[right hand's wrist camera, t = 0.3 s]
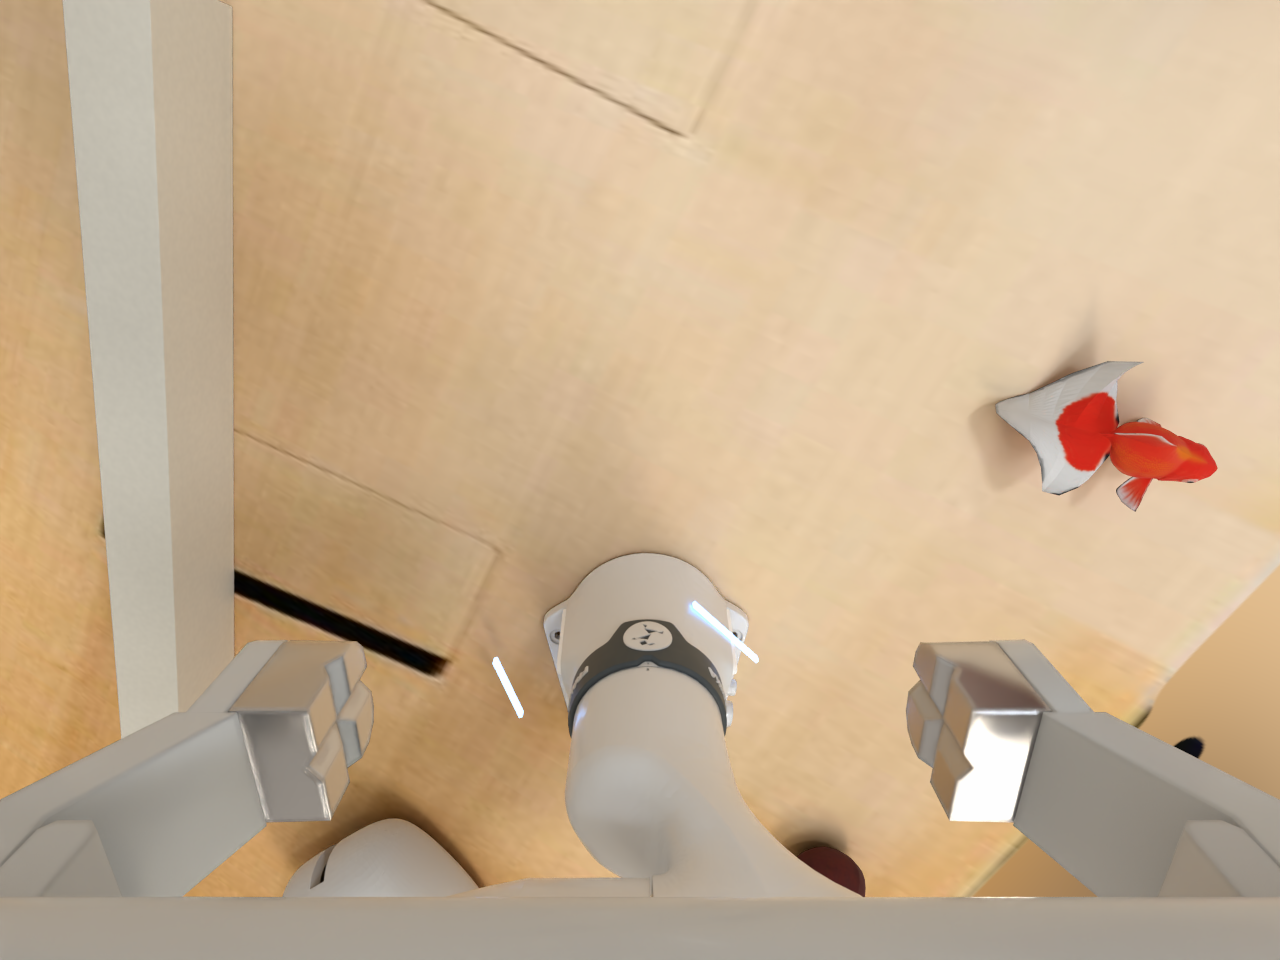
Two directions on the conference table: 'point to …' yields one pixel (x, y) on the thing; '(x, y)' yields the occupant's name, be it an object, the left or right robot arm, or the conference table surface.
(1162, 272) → the conference table surface
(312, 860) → the projector
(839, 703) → the conference table surface
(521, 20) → the conference table surface
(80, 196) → the bar
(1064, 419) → the fish
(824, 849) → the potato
